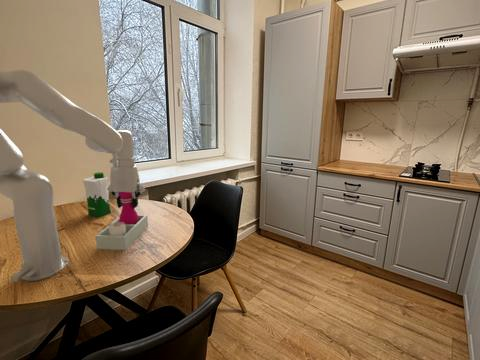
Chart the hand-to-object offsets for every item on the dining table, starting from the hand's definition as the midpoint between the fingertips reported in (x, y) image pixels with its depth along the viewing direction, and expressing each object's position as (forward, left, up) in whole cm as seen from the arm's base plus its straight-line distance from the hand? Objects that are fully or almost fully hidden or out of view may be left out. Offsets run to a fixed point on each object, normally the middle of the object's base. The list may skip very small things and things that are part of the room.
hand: (127, 206), depth 105 cm
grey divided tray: (-5, 0, -12) cm, 13 cm away
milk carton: (+19, +24, -12) cm, 33 cm away
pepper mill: (0, 0, -10) cm, 10 cm away
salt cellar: (-10, 0, -11) cm, 14 cm away
